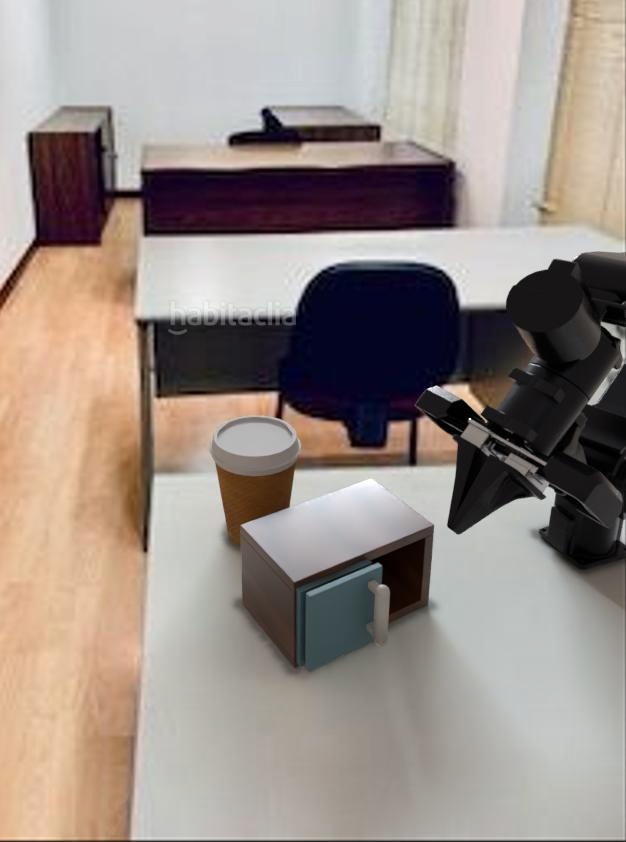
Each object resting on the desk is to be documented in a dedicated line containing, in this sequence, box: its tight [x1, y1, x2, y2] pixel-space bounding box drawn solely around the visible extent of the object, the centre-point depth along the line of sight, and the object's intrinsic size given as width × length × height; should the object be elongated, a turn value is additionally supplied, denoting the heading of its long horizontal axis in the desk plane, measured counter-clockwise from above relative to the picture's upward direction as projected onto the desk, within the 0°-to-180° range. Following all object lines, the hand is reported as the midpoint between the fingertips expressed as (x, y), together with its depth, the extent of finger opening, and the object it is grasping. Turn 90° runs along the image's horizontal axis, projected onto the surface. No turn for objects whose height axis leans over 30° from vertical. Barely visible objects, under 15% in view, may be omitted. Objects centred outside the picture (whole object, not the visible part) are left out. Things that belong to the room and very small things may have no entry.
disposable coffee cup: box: [208, 414, 302, 548], centre depth 80 cm, size 10×10×12 cm
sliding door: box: [304, 563, 390, 673], centre depth 63 cm, size 7×3×8 cm, turn 119°
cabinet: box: [240, 478, 435, 669], centre depth 70 cm, size 15×10×9 cm, turn 119°
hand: (452, 530), depth 65 cm, fingers closed
